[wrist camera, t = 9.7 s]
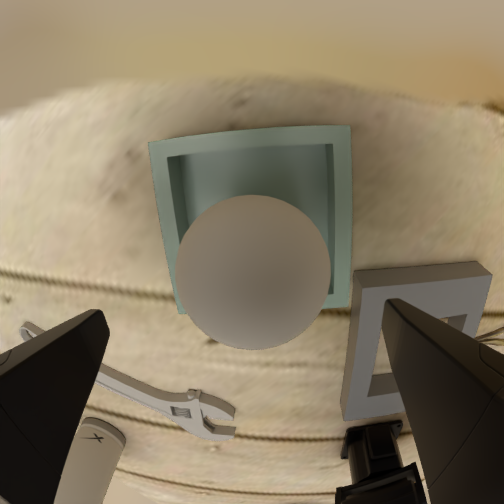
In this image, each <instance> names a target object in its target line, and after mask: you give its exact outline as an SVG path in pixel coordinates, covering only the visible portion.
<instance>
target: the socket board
mask: <svg viewBox="0 0 504 504" xmlns="http://www.w3.org/2000/svg"><path fill="white" fill-rule="evenodd" d="M491 280H492V274H491V273H490V272H489V271H488V270H487V269H485V268H484V267H483V266H482V265H481V264H479V263H478V262H477V261H474V262H463V263H452V264H441V265H429V266H417V267H404V268H391V269H378V270H363V271H354V279H353V294H352V307H351V318H350V329H349V338H348V347H347V356H346V364H345V371H344V378H343V385H342V392H341V399H340V404H341V410H342V415H343V421H350V420H358V419H365V418H372V417H378V416H384V415H390V414H396V413H401V412H406V411H405V408H404V405H403V402H402V399H401V396H400V393H399V390H398V387H397V384H396V381H395V378H394V375H393V373H390V374H383V375H376V376H372V373H373V368H374V364H375V359H376V353H377V348H378V343H379V337H380V331H381V326H382V317H383V310H384V303H385V301H386V300H387V299H391V298H400V299H402V300H403V301H405V302H407V303H409V304H411V305H413V306H415V307H417V308H419V309H420V310H422V311H424V312H426V313H428V314H430V315H432V316H434V317H435V318H437V319H439V318H445V317H449V320H448V325H450V326H452V327H454V328H456V329H458V330H459V331H461V332H463V333H465V334H467V335H469V336H470V337H472V338H475V335H476V332H477V329H478V326H479V323H480V320H481V316H482V313H483V310H484V306H485V303H486V299H487V295H488V292H489V288H490V284H491Z"/></svg>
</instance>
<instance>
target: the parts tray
mask: <svg viewBox="0 0 504 504" xmlns="http://www.w3.org/2000/svg"><path fill="white" fill-rule="evenodd" d="M148 147H149V154H150V162H151V169H152V176H153V183H154V190H155V196H156V202H157V209H158V215H159V220H160V226H161V232H162V237H163V242H164V248H165V253H166V258H167V263H168V268H169V273H170V277H171V282H172V287H173V291H174V296H175V300H176V305H177V309H178V313H179V314H187V313H186V312H185V310H184V308H183V306H182V304H181V301H180V299H179V295H178V291H177V287H176V281H175V265H176V259H177V254H178V249H179V246H180V243H181V241H182V239H183V237H184V234H185V233H186V232H187V230H188V229H189V227H190V226H191V225H192V223H193V222H194V221H195V220H196V218H197V217H199V216H200V215H201V214H202V213H203V212H204V211H205V210H206V209H208V208H209V207H211V206H213V205H215V204H217V203H218V202H220V201H223V200H226V199H229V198H232V197H235V196H244V195H261V196H269V197H272V198H276V199H279V200H282V201H285V202H287V203H289V204H290V205H292V206H294V207H296V208H298V209H299V210H300V211H301V212H303V213H304V214H305V215H306V216H307V217H309V218H310V220H311V221H312V222H313V223H314V225H315V226H316V227H317V228H318V230H319V232H320V234H321V236H322V238H323V240H324V242H325V244H326V246H327V250H328V254H329V258H330V266H331V278H330V285H329V290H328V295H327V297H326V300H325V302H324V304H323V306H322V309H325V308H339V307H348V304H349V290H350V273H351V250H352V153H351V130H350V125H316V126H289V127H271V128H257V129H245V130H235V131H225V132H216V133H207V134H199V135H192V136H185V137H178V138H171V139H165V140H159V141H153V142H148Z"/></svg>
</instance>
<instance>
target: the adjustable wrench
mask: <svg viewBox="0 0 504 504" xmlns="http://www.w3.org/2000/svg"><path fill="white" fill-rule="evenodd" d="M27 330H28V331H29V332H30V333H31V334H32V336H33V337H36V336H38V335H40V334H42V333H44V332H45V331H43V330H41V329H40V328H38V327H37V326H35V325H33V324H32V323H30V322H26V323H25V324H24V325H23V326H22V327H21V328H20V329H19V333H20V336H21V338H22V339H23V341H24V342H26V341H28V340H30V339H32V337H31V336H30V335H29V333H28V332H27ZM95 384H97V385H99V386H101V387H104V388H106V389H108V390H110V391H112V392H114V393H116V394H118V395H120V396H123V397H125V398H127V399H129V400H132V401H134V402H136V403H139V404H141V405H143V406H146V407H148V408H151V409H153V410H155V411H157V412H159V413H161V414H162V415H164V416H166V417H167V418H169V419H170V420H172V421H174V422H175V423H177V424H178V425H180V426H181V427H182V428H184V429H185V430H187V431H188V432H190V433H191V434H193V435H195V436H197V437H199V438H202V439H205V440H211V441H225V440H229V439H233V438H234V434H235V427H229V426H217V425H213V424H212V423H211V422H210V421H209V420H208V419H206V418H205V416H208V417H209V418H210V419H218V420H230V421H233V420H234V413H235V408H233V407H232V406H231V405H230V404H228V403H226V402H225V401H223V400H221V399H219V398H216V397H213V396H210V395H207V394H204V393H201V390H196V391H193V390H189V391H188V392H187V393H169V392H165V391H161V390H158V389H156V388H153V387H151V386H149V385H146V384H144V383H142V382H140V381H137V380H135V379H133V378H131V377H129V376H126V375H124V374H122V373H120V372H118V371H116V370H114V369H112V368H110V367H108V366H106V365H104V364H102V363H101V366H100V369H99V372H98V375H97V378H96V380H95Z"/></svg>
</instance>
